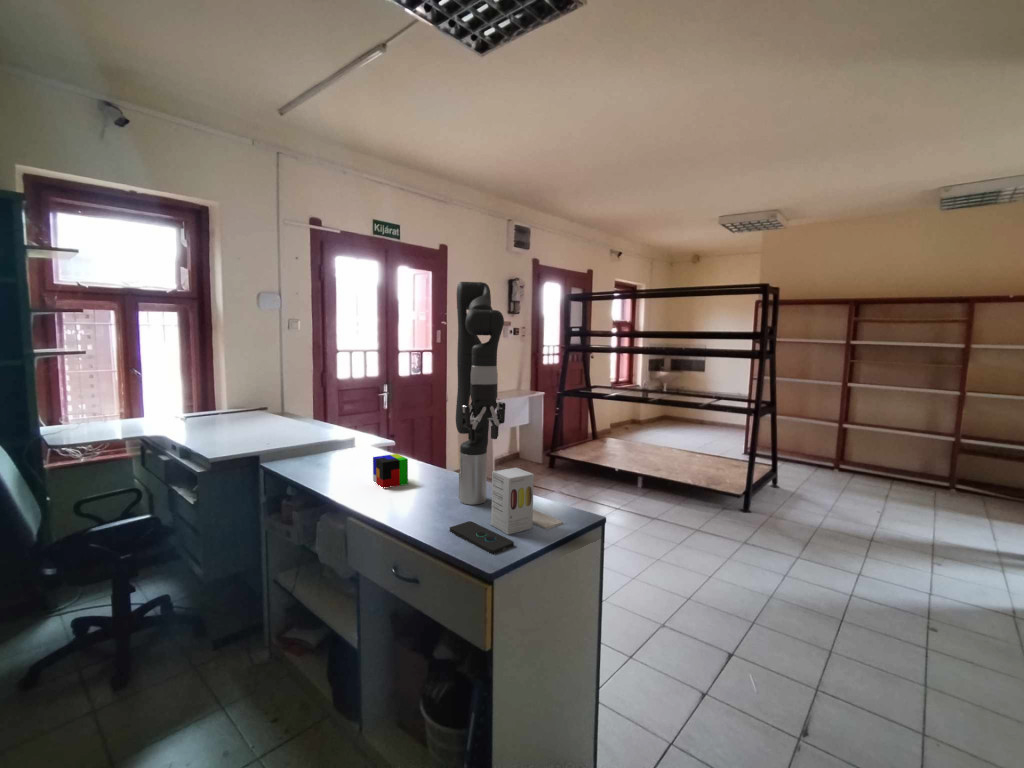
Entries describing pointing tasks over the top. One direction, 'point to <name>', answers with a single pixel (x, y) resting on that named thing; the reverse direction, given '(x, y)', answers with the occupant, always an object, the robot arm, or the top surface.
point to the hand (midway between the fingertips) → (483, 440)
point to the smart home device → (482, 537)
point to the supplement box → (512, 500)
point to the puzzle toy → (390, 470)
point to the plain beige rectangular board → (545, 520)
